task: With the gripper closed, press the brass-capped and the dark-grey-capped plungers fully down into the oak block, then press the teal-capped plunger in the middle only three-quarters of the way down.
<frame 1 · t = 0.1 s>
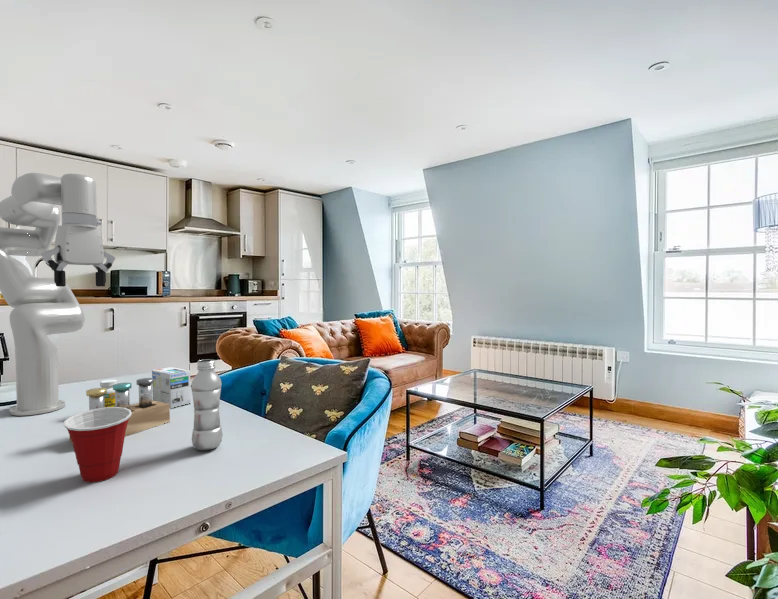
hand: (81, 286, 111), 37 cm above the table, tool pointing down, fingers open, 9 cm apart
plug brass: (96, 405, 99), point 8 cm above the table, slide at 0.0 cm
light bulb box: (171, 404, 129), on the table
plastic cup: (100, 477, 80), on the table
supplement bottle: (109, 414, 119), on the table
plug teal: (122, 399, 104), point 8 cm above the table, slide at 0.0 cm
oak block: (123, 431, 105), on the table
plastic bottle: (207, 448, 94), on the table
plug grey: (145, 393, 110), point 8 cm above the table, slide at 0.0 cm
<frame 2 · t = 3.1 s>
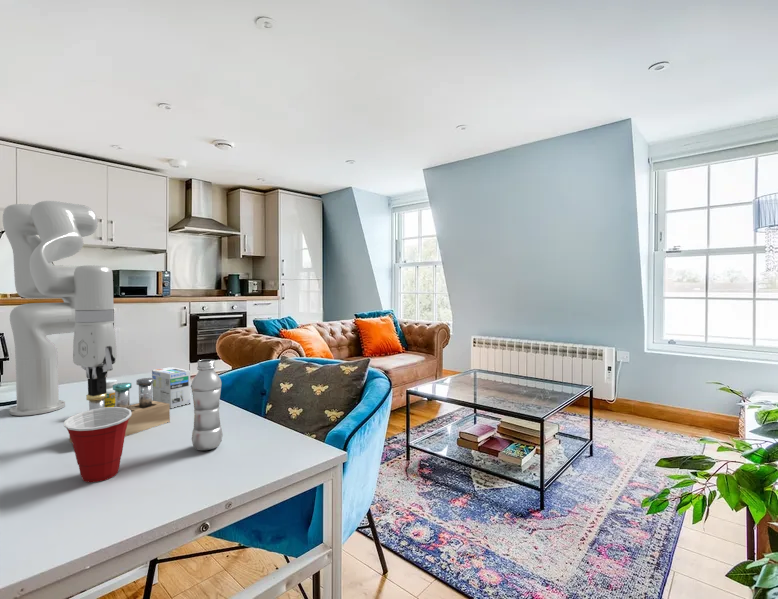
hand: (97, 394, 99), 11 cm above the table, tool pointing down, fingers closed
plug brass: (97, 409, 99), point 7 cm above the table, slide at 1.1 cm, touching gripper
everything else where it was.
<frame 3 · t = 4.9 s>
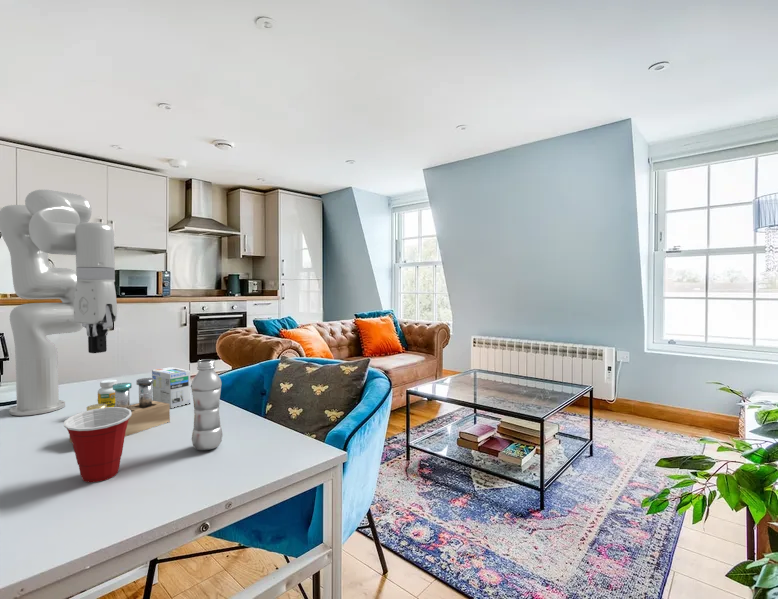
hand: (97, 352, 99), 21 cm above the table, tool pointing down, fingers closed
plug brass: (97, 421, 99), point 4 cm above the table, slide at 3.9 cm
everything else where it was.
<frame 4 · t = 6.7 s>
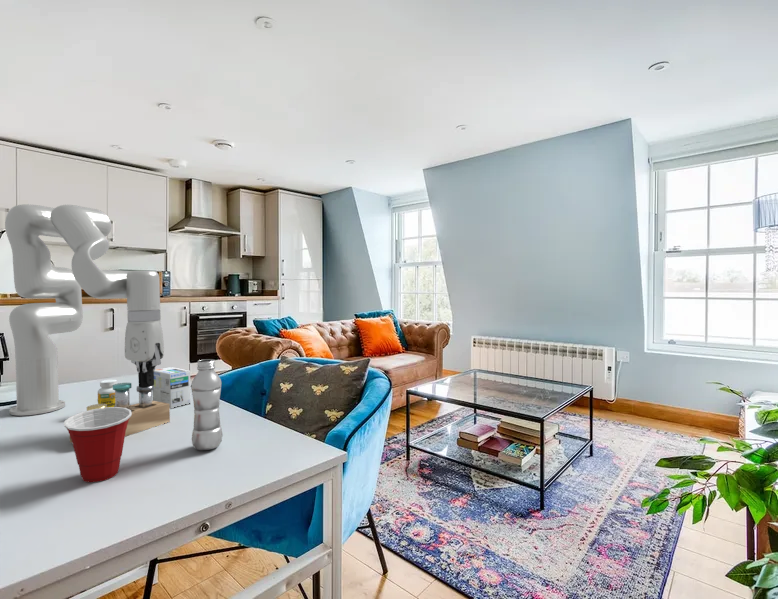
hand: (146, 386, 110), 10 cm above the table, tool pointing down, fingers closed
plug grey: (145, 400, 110), point 6 cm above the table, slide at 1.8 cm, touching gripper
everything else where it was.
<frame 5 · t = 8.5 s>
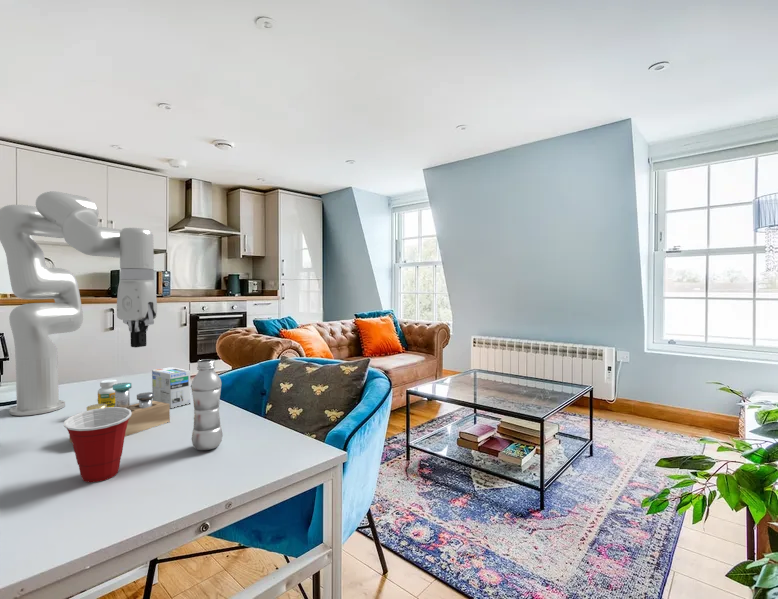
hand: (138, 346, 108), 21 cm above the table, tool pointing down, fingers closed
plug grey: (145, 408, 110), point 4 cm above the table, slide at 3.9 cm
everything else where it was.
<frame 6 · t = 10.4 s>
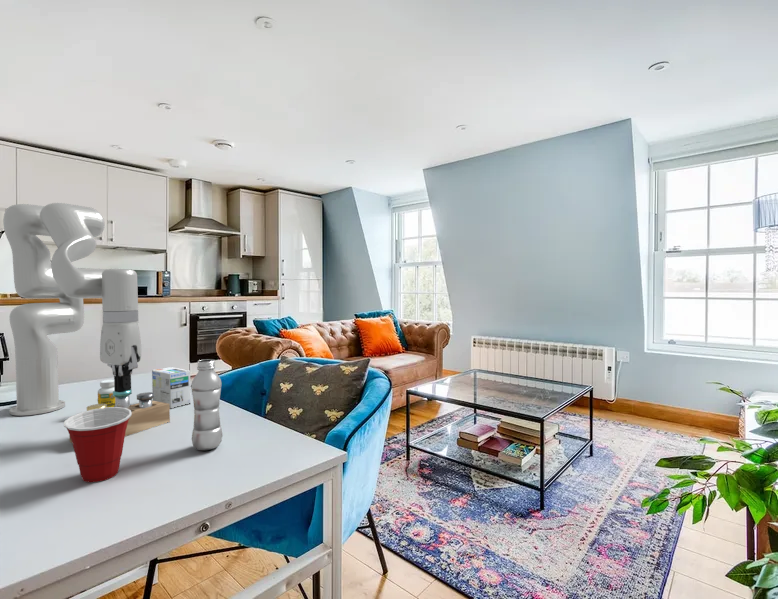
hand: (123, 390, 104), 10 cm above the table, tool pointing down, fingers closed
plug teal: (122, 405, 104), point 7 cm above the table, slide at 1.6 cm, touching gripper
everything else where it was.
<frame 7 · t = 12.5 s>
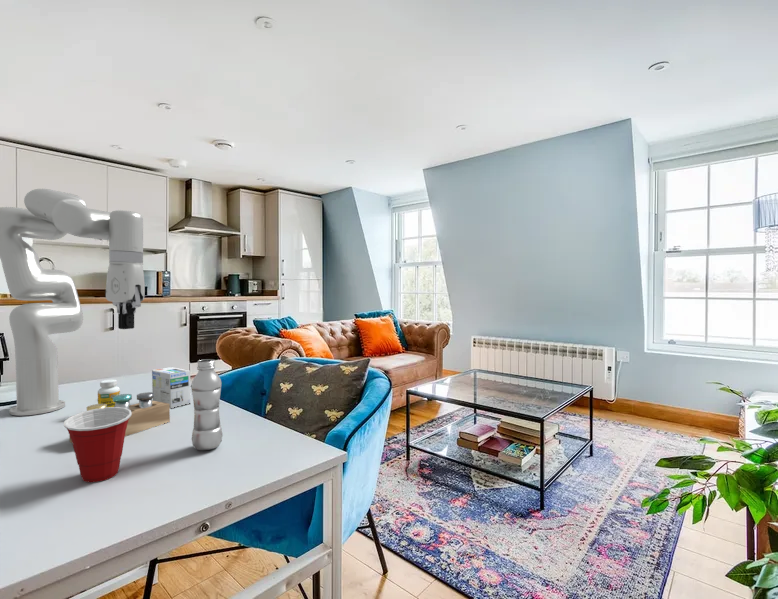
hand: (126, 328, 109), 26 cm above the table, tool pointing down, fingers closed
plug teal: (122, 410, 105), point 5 cm above the table, slide at 2.9 cm
everything else where it was.
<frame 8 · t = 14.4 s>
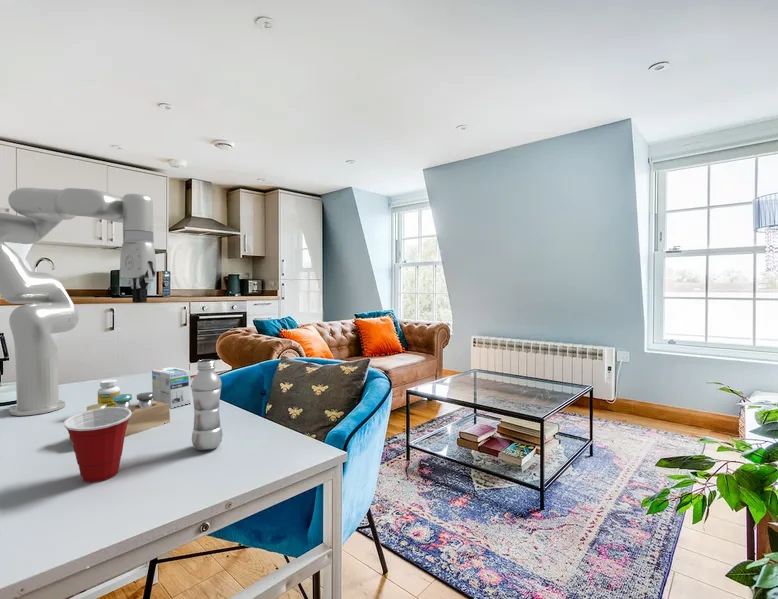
hand: (139, 302, 119), 32 cm above the table, tool pointing down, fingers closed
nothing on the table moved.
at the end: plug brass slide at 3.9 cm; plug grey slide at 3.9 cm; plug teal slide at 2.9 cm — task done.
